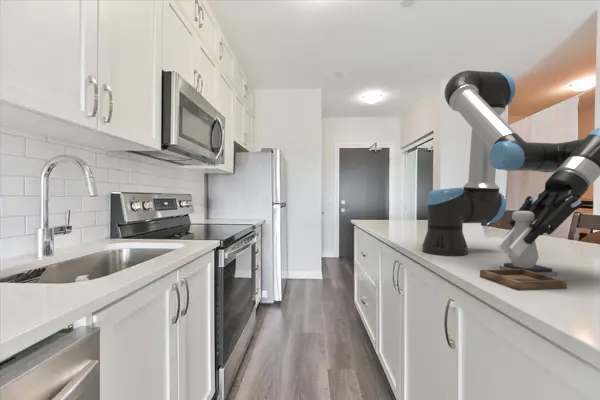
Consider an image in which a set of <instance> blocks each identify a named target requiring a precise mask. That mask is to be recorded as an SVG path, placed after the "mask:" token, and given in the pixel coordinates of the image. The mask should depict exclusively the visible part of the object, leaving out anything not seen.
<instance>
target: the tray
mask: <svg viewBox="0 0 600 400" xmlns="http://www.w3.org/2000/svg"><path fill="white" fill-rule="evenodd" d="M479 278H483V279H486V280H488V281H491V282H493V283H496V284H499V285H502V286H504V285H505V287H507V286H508V288H509V289H513V290H516V291H535V290H536V291H537V290H539V291H540V290H558V289H559V290H562V289H563V290H564V289H566V290H567V289H568V285H567V284H568V282H567V281H568V280H565V279H562V278H557V277H555V276H552V275H543V274H540V273H536V272H532V271H529V270H525V269H501V268H499V269H479Z"/></svg>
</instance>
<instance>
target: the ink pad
mask: <svg viewBox="0 0 600 400" xmlns="http://www.w3.org/2000/svg"><path fill="white" fill-rule="evenodd" d="M499 269H525V270H529V271H532V272H536V273H540V274H543V275H547V276H557V275H558V272H557V271H556V272H555V271H553V268H551V267H547V266H543V265H539V264H535V266H534V267H532V268H521V267H516V266H513V264H512V262H511V263H510V262H509V263H506V262H505V263H503V265H500V266H499Z"/></svg>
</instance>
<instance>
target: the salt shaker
mask: <svg viewBox="0 0 600 400" xmlns="http://www.w3.org/2000/svg"><path fill="white" fill-rule="evenodd" d="M511 219H513V220H514V221H516V222H515V227H514V232H513V236H512V241H511V245H512V244H513V243H514V242H515V240H516V239H517V238H518V237H519V236H520V235H521V234H522V233H523V232H524V230H525V229H526V228H528V227H529V228H531V229H532V227H531V226H530V224H531V221H534V213H533V212H530V211H518V210H515V211H513V212H512V215H511ZM534 222H535V221H534ZM507 254H508V258H509V260H510V262H511V263H512V264H513V266H516V267H521V268H532V267H534V266H535V265H537V262H538V260H539V252H538V248H537V243H536V240H535V241H534V242H533V243H532V244H529V245H528V247H527V248H526V249H525V250H524V252H523V253H522V254H521V255H520V256H516V255H515V254H514V252H513V251H512V250H511V249H510V251H509V252H508V253H507Z"/></svg>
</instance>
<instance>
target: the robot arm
mask: <svg viewBox="0 0 600 400" xmlns="http://www.w3.org/2000/svg"><path fill="white" fill-rule="evenodd" d="M515 94H516V83H515V80H514V79H513V77H512V76H510V74H508V73H504V72H500V71H481V70H480V71H479V70H469V69H467V70H464V71H460V72H458V73H456V74H454V75H453V76H452V77H451V78H450V79H449V80H448V81H447V83H446V86H445V88H444V98H445V101H446V103H447V105H448V106H449V108H451V109H452V111H454V112H458V113H459V114H460V115H461V116H462V117H463V119H464V120H465V121H466V123H467V124H468V125H469V127H471V137H470V152H469V163H468V164H469V167H468V178H467V179H468V180H467V181H468V182H467V183H465V184H463V187H451V188H450V187H449V188H441V189H436V190H434V189H433V190H431V191H429V192H428V194H427V195H428V196H427V202H426V203H427V204H426V205H427V231H426V235H425V237H424V239H423V243H422V250H421V251H422V252H424V253H427V254H432V255H439V256H456V257H457V256H467V255H468V253H469V247H468V244H467V241H466V239H465V236H464V232H463V226H464V225H463V224H482V225H484V224H491V223H496V222H497V221H499V220H500V219H501V218H502V217H503V216H504V215H505V212H506V210H507V209H506V208H507V200H506V199H505V196H504V195H503V194H502V193H501V192H500V187H499V186H498V185H497V183H496V172H497V170H503V171H508V172H509V171H511V172H512V171H525V172H526V171H531V172H532V171H534V172H539V173H552V174H551V175H550V176H549V178H548V179H547V180H546V181H545V184H544V189H543V191H542V192H541V193H539V194H538V195H537V196H534V197H532V196H531V195H528V196H526V198H525V200H524V203H523V204H522V205H521V207H519V209H518V210H517V211H530V212H533V213H534V221H531V224H530V226H531V227H532V229H531V228H529V227H528V228H526V229H525V230H524V232H523V233H522V234H521V235H520V236H519V237H518V238H517V239H516V240H515V242H514V243H513V244H512V245H511V241H512V236H513V232H514V227H515V222H516V221H514V220H513V219H512V218H511V219H510V220H509V222H508V224H509V225H510V226H511V229H510V230H509V231H508V232H507V233H506V234H505V236H504V237H503V239H502V240H501V241H500V242H499V243H498V244H497V247H498V248H499V249H500V250H501V251H502V252H503V253H504V254H509V251H510V249H511V250H512V251H513V252H514V254H515V255H516V256H520V255H521V254H522V253H523V252H524V250H525V249H526V248H527V247H528V245H529V244H532V243H533V242H534V241H535V242H536V240H537V239H538V237H540V236H543V235H544V234H547V235H551V234H553V232H555V231H556V230H557V229H558V228H559V227H560V226H561V225H562V224H563V223H564V222H565V221H566V220H567V219H568V218H569V217H570V216H571V215H572V214H573V213H574V212H575V211H577V210H579V209H580V208H581V207H583V206H584V203H583V201H581V200H580V199H581V198H582V197H583V196H584V195H585V194H586V192H587V191H588V189H590V187H591V186H592V185H593V184H594V183H595V182H596V181H597V179H598V178H599V177H600V127H596V128H594V129H593V130H592V131H591V132H589V133H588V134H587V135H586V136H585V137H584V138H580V139H576V140H571V141H566V142H554V143H551V142H528V141H525V140H524V139H523V138H522V137H521V136H520V135H519V134H518V133H517V132H516V131H515V129H513V128H512V127H511V126H510V125H509V124H508V123H507V122H506V121H505V120H504V119H503V118H502V117H501V115H502V114H503V113H504V112H505V111H506V109H507V108H506V107H507V106H509V105H510V104H511V103H512V101H513V99H514V98H515Z"/></svg>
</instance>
